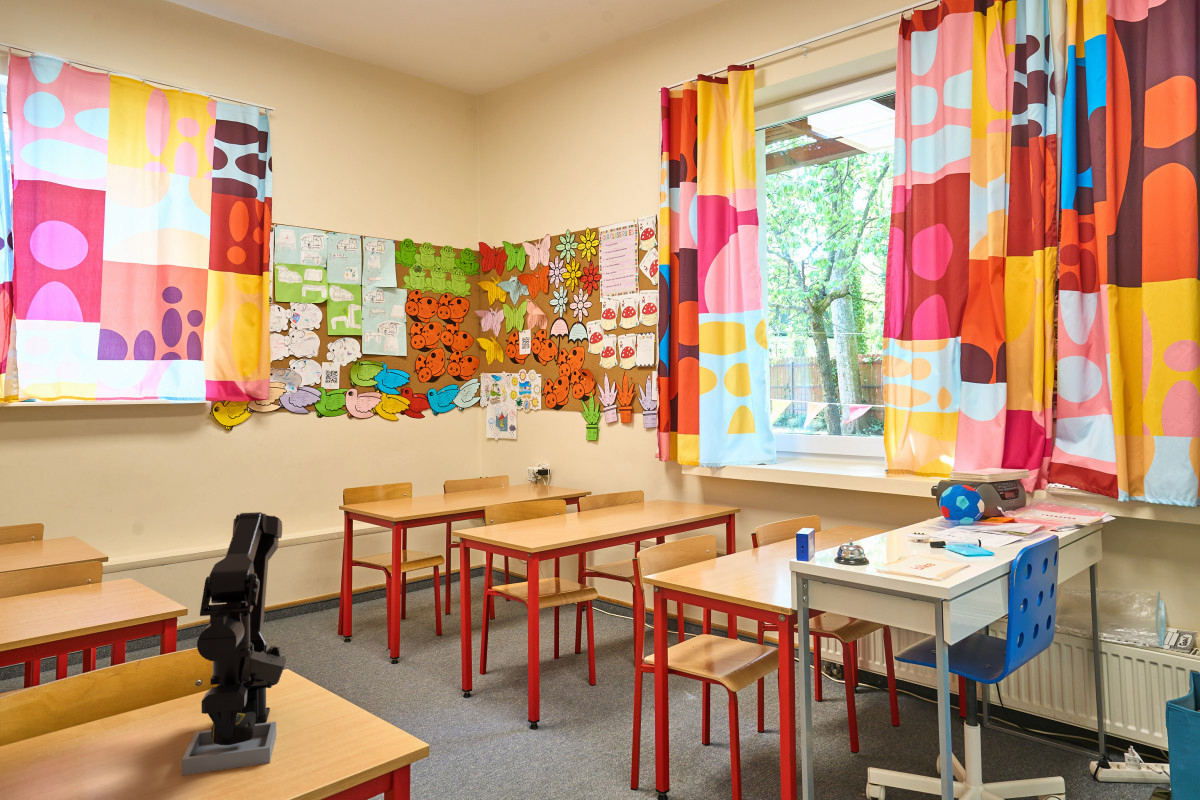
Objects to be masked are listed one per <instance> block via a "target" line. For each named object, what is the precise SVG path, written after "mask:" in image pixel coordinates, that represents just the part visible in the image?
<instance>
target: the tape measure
mask: <svg viewBox="0 0 1200 800" xmlns="http://www.w3.org/2000/svg"><path fill="white" fill-rule="evenodd" d="M257 718H258V716H257V717H256V714H255V713H254V712H248V713H237V719H236V724H235V730H234V735H233V740H232V742H231V743H224V741H223V739H222V737H221V735H220V734H219V732H218V730H217V728H216V727H215V725H214V723H213V722H212V725H211V729H210V730H211V738H212V740H213V741H214V743H216V744H219V745H233V744H237V743H241V742H245V741H248V740H251V739H252V737H253V732H254V727H255V722H258V719H257Z"/></svg>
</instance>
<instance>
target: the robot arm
mask: <svg viewBox="0 0 1200 800" xmlns="http://www.w3.org/2000/svg"><path fill="white" fill-rule="evenodd" d="M232 524H233V526H232V536H231V541H230V542H229V543H230V544H229V545H228V548H227V552H226V555H225V556H224V558H223V559H221V560H219V561H217V562H216V563H215V564H214V565H213V567H212V569H211V571H210V573H209V576H206V578H205V581H204V585H203V592H202V597H201V605H200V610H199V616H200V617H207V616H209V623H208V625H207V626H206V627H205V628H204V629H203V631H202V632H201V633H200V634H199V636H198V639H197V641H196V649H197V651H198V654H199V655H200V656H201V657H202V658H203V659H205V660H207V661H209V662H212V675H211V677H210V686H213V685H216V686H213V687H210V688H209V689H208V690H207V692H205V694H204V696H203V698H202V700H201V713H202V714H205V715H206V714H207V715H208V717H209V718H210V720H211V722H212V724H213V723H214V725H215V727H216V728H217V730H218V732H219V734H220V735H221V737H222V739H223V741H224V743H231V742H232V740H233V735H234V730H235V724H236V719H237V713H248V712H254V713H255V714H256V717H257V716H258V718H257V719H258V722H255V724H261V723H268V718H269V715H270V712H271V710H270V709H271V708H270V707H267V689H271V688H272V687H273V686H276V685H278V683H280V679H281V677H282V674H283V671H284V669H285V666H286V662H287V658H285V657H286V656H284V655H282V652H281V647H279V646H276V645H271V646H269V644H268V642H267V640H266V638H265V637H264V635H263V633H264V620H265V611H266V610H265V607H266V595H267V594H266V593H267V583H268V581H267V580H268V569H269V561H270V559H271V558H272V557H273V555H275V553H276V551H277V550H278V549H279V539H282V536H283V522H282V520H281V518H280V517H277V516H276V515H267V514H266V513H263V512H261V511H258V512H256V511H255V512H240V513H239V514H236V516H235V518H234V519H233V523H232ZM210 603H211V604H210Z"/></svg>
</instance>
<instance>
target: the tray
mask: <svg viewBox="0 0 1200 800" xmlns="http://www.w3.org/2000/svg"><path fill="white" fill-rule="evenodd" d="M276 738H277V721H267V722H265V723H258V724H255V727H254V732H253V737H252V739H251V740H248V741H245V742H241V743H237V744H233V745H219V744H216V743H214V741H213V740H212V738H211V729H209V730H200V731H199V730H198V731H195V732H194V734H193V736H192V738H191V741H190V743H189V744H188V746H187V749H186V750H185V752H184V754H183V756H182V758H181V776H189V775H195V774H202V773H208V772H214V771H215V772H216V771H222V770H230V769H235V768H245V767H251V766H256V765H262V764H270V763H271V759H272V755H273V752H274V751H273V750H274V746H275V742H276Z"/></svg>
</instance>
